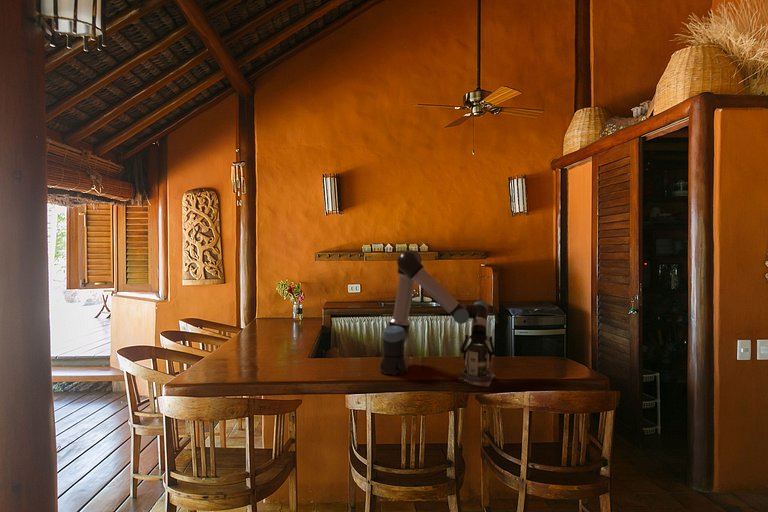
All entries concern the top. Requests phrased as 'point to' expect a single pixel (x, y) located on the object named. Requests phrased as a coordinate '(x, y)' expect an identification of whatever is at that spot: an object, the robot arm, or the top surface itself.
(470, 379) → the collar board
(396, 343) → the robot arm
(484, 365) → the coffee can
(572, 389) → the top surface
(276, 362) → the top surface
